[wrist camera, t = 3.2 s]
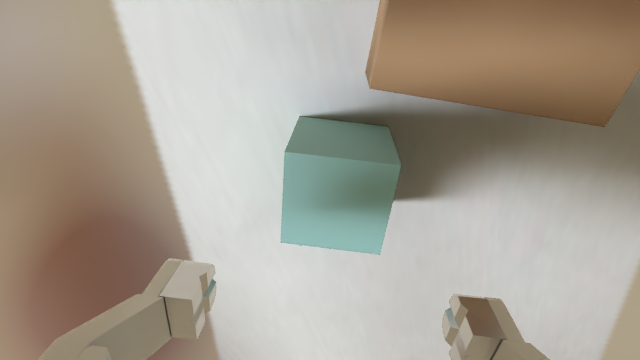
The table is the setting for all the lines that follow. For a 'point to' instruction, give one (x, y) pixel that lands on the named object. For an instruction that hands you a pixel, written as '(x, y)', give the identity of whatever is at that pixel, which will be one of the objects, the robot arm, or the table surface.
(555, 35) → the walnut block
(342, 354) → the table surface
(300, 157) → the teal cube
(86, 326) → the robot arm
